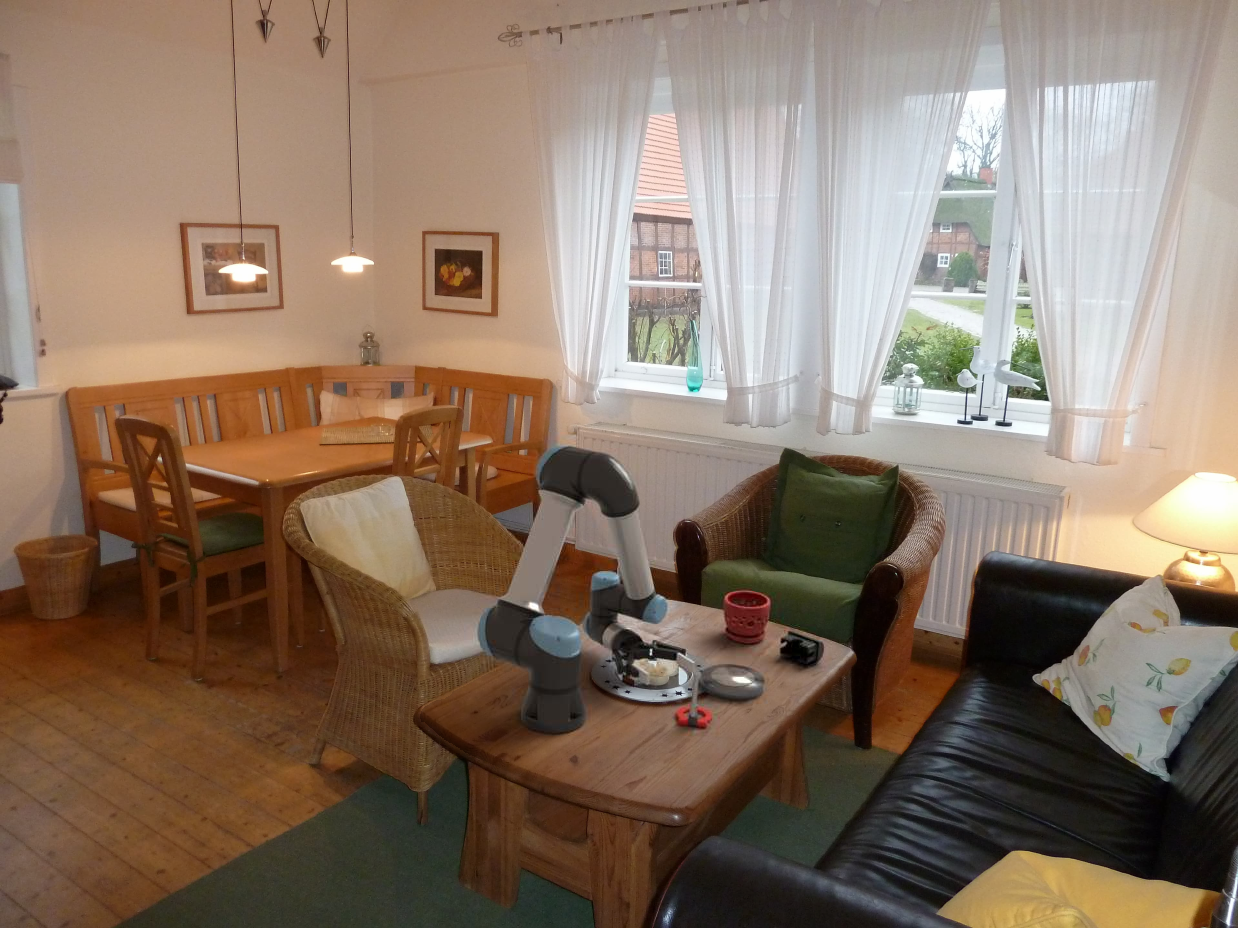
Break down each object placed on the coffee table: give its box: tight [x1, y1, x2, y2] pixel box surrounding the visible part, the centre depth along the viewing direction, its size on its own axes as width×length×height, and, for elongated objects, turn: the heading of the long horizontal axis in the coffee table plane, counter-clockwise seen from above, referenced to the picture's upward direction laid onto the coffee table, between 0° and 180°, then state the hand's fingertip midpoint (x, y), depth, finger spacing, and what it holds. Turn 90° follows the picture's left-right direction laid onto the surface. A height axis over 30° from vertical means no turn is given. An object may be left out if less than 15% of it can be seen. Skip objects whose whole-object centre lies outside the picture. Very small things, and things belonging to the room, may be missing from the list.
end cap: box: [779, 630, 825, 669], centre depth 263 cm, size 10×7×7 cm
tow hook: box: [675, 672, 713, 728], centre depth 227 cm, size 8×13×9 cm
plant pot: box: [723, 590, 771, 644], centre depth 276 cm, size 13×13×12 cm
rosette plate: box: [700, 663, 766, 702], centre depth 245 cm, size 16×16×3 cm
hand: (671, 673), depth 235 cm, fingers open, 13 cm apart
